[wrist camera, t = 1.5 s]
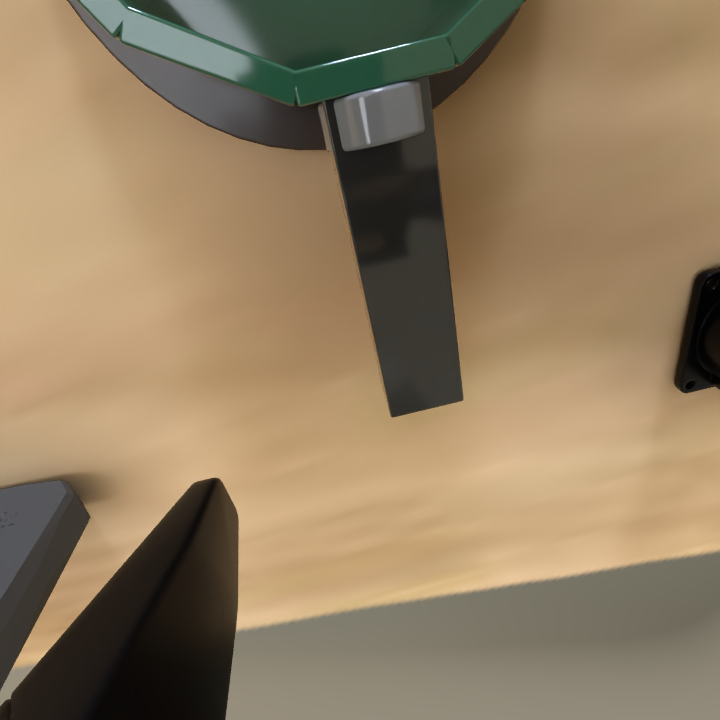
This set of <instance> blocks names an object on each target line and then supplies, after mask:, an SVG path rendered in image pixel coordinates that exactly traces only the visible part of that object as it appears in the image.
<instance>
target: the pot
mask: <svg viewBox="0 0 720 720" xmlns="http://www.w3.org/2000/svg"><path fill="white" fill-rule="evenodd" d="M76 1H77V2H78V3H79V4H80V5H81V6H82V7H83V8H84V9H85V10H86V11H87V12H88V13H89V14H90V15H91V16H92V17H93V18H94V19H95V20H96V21H97V22H98V23H99V24H100V25H101V26H102V27H103V28H104V29H105V31H106V32H107V33H108V34H109V35H110V36H111V37H113V38H115V39H118V40H120V42H121V43H122V44H123V45H126V46H129V47H131V48H134V49H137V50H139V51H142V52H145V53H147V54H150V55H153V56H156V57H158V58H161V59H164V60H166V61H169V62H172V63H174V64H177V65H180V66H182V67H185V68H188V69H190V70H193V71H196V72H199V73H201V74H204V75H207V76H210V77H212V78H215V79H218V80H220V81H223V82H226V83H229V84H231V85H234V86H237V87H240V88H242V89H245V90H248V91H250V92H253V93H256V94H259V95H261V96H264V97H267V98H270V99H272V100H275V101H278V102H280V103H283V104H286V105H289V106H291V107H294V108H297V106H299V107H300V108H305V107H309V106H313V105H317V104H318V108H317V109H318V114H319V118H320V122H321V127H322V131H323V136H324V140H325V145H326V149H327V150H328V152H331V157H332V161H333V166H334V170H335V175H336V179H337V184H338V189H339V193H340V198H341V202H342V207H343V211H344V216H345V220H346V225H347V229H348V234H349V238H350V243H351V247H352V252H353V256H354V261H355V265H356V270H357V274H358V279H359V283H360V288H361V293H362V297H363V302H364V306H365V311H366V315H367V320H368V324H369V329H370V333H371V338H372V342H373V347H374V351H375V356H376V360H377V365H378V369H379V374H380V378H381V383H382V388H383V391H384V395H385V398H386V402H387V405H388V408H389V412H390V415H391V417H397V416H401V415H405V414H409V413H414V412H418V411H422V410H426V409H430V408H434V407H439V406H443V405H447V404H451V403H455V402H459V401H463V390H462V380H461V371H460V362H459V352H458V343H457V334H456V325H455V315H454V306H453V297H452V287H451V278H450V269H449V260H448V250H447V241H446V232H445V222H444V213H443V204H442V195H441V185H440V176H439V167H438V157H437V148H436V139H435V130H434V120H433V111H432V102H431V92H430V83H429V76H432V75H435V74H439V73H443V72H446V71H450V70H453V69H454V68H455V67H457V66H460V65H462V64H463V63H464V62H465V61H466V60H467V59H468V58H469V57H470V56H471V55H472V54H473V53H474V52H475V51H476V50H477V49H478V48H479V47H480V46H481V45H482V44H483V43H484V42H485V41H486V40H487V39H488V38H489V37H490V36H491V35H492V34H493V33H494V32H495V31H496V30H497V29H498V28H499V27H500V26H501V25H502V24H503V23H504V22H505V21H506V20H507V19H508V18H509V17H510V16H511V15H512V14H513V13H514V12H515V11H516V10H517V9H518V8H519V7H520V6H521V5H522V4H523V3H524V2H525V1H526V0H76Z"/></svg>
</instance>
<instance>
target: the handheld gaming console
mask: <svg viewBox="0 0 720 720" xmlns="http://www.w3.org/2000/svg"><path fill="white" fill-rule="evenodd" d="M89 519H90V516H89V514H88V512H87V510H86V509H85V507H84V505H83V503H82V502H81V501H80V499H79V498H78V496H77V495H76V494H75V492H74V491H73V489H72V488H71V486H70V485H69V484H68V482H65V481H62V480H57V481H49V482H41V483H33V484H26V485H21V486H16V487H11V488H7V489H2V490H0V690H1V688H2V686H3V684H4V682H5V680H6V679H7V677H8V675H9V673H10V671H11V669H12V667H13V665H14V663H15V661H16V659H17V658H18V656H19V654H20V652H21V650H22V648H23V646H24V644H25V642H26V640H27V638H28V636H29V635H30V633H31V631H32V629H33V627H34V625H35V623H36V621H37V619H38V617H39V615H40V613H41V612H42V610H43V608H44V606H45V604H46V602H47V600H48V598H49V596H50V594H51V592H52V591H53V589H54V587H55V585H56V583H57V581H58V579H59V577H60V575H61V573H62V571H63V569H64V568H65V566H66V564H67V562H68V560H69V558H70V556H71V554H72V552H73V550H74V548H75V547H76V545H77V543H78V541H79V539H80V537H81V535H82V533H83V531H84V529H85V527H86V525H87V523H88V521H89Z"/></svg>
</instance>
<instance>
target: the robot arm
mask: <svg viewBox="0 0 720 720" xmlns="http://www.w3.org/2000/svg"><path fill="white" fill-rule="evenodd" d="M709 280H710V281H709ZM708 281H709V283H708V284H707V282H708ZM706 284H707V285H706ZM675 387H676V388H677V389H679V390H680V391H681V392H684V393H689V392H694V391H698V390H702V389H706V388H710V387H717V388H718V389H720V267H718V268H713V269H709V270H706V271H703V272H702V273H701V274H699V275H698V276H697V278H696V279H695V282H694V286H693V291H692V296H691V301H690V306H689V311H688V317H687V322H686V327H685V332H684V337H683V343H682V348H681V353H680V358H679V363H678V368H677V374H676V379H675ZM237 610H238V514H237V511H236V508H235V506H234V504H233V502H232V500H231V498H230V496H229V494H228V492H227V490H226V488H225V487H224V485H223V483H222V481H221V480H220V479H218V478H210V479H206V480H202V481H198V482H195V483H194V484H192V485H191V486H190V488H189V489H188V490H187V491H186V492H185V493H184V495H183V496H182V497H181V498H180V499H179V500H178V501H177V503H176V504H175V505H174V506H173V507H172V508H171V510H170V511H169V512H168V513H167V514H166V515H165V517H164V518H163V519H162V520H161V521H160V522H159V524H158V525H157V526H156V527H155V528H154V529H153V530H152V532H151V533H150V534H149V535H148V536H147V537H146V539H145V540H144V541H143V542H142V543H141V544H140V546H139V547H138V548H137V549H136V550H135V551H134V552H133V554H132V555H131V556H130V557H129V558H128V559H127V561H126V562H125V563H124V564H123V565H122V566H121V568H120V569H119V570H118V571H117V572H116V573H115V574H114V576H113V577H112V578H111V579H110V580H109V581H108V583H107V584H106V585H105V586H104V587H103V588H102V590H101V591H100V592H99V593H98V594H97V595H96V596H95V598H94V599H93V600H92V601H91V602H90V603H89V605H88V606H87V607H86V608H85V609H84V610H83V612H82V613H81V614H80V615H79V616H78V617H77V618H76V620H75V621H74V622H73V623H72V624H71V625H70V627H69V628H68V629H67V630H66V631H65V632H64V634H63V635H62V636H61V637H60V638H59V639H58V640H57V642H56V643H55V644H54V645H53V646H52V647H51V649H50V650H49V651H48V652H47V653H46V654H45V656H44V657H43V658H42V659H41V660H40V661H39V662H38V664H37V665H36V666H35V667H34V668H33V669H32V671H31V672H30V673H29V674H28V675H27V676H26V678H25V679H24V680H23V681H22V682H21V683H20V684H19V686H18V687H17V688H16V689H15V690H14V692H13V693H12V695H11V699H8V700H6V701H5V702H4V703H3V704H2V705H1V706H0V720H225V717H226V709H227V700H228V692H229V683H230V674H231V666H232V657H233V648H234V639H235V631H236V621H237Z"/></svg>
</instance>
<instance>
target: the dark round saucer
mask: <svg viewBox="0 0 720 720" xmlns="http://www.w3.org/2000/svg"><path fill="white" fill-rule="evenodd" d="M67 1H68V2H69V3H70V5H71V6H72V7H73V9H74V10H75V11H76V13H77V14H78V16H79V17H80V18H81V20H82V21H83V22H84V24H85V25H86V26H87V27H88V28H89V29H90V30H91V32H92V33H93V34H94V35H95V36H96V37H97V38H98V39H99V40H100V42H101V43H102V44H103V45H104V46H105V47H106V48H107V49H108V50H109V52H110V53H111V54H112V55H113V56H114V57H115V58H116V59H117V60H118V61H119V62H120V63H121V64H122V65H124V66H125V67H126V68H127V69H128V70H129V71H130V72H131V73H132V74H134V75H135V76H136V77H137V78H138V79H139V80H140V81H141V82H142V83H143V84H145V85H146V86H147V87H148V88H150V89H151V90H152V91H154V92H155V93H157V94H158V95H159V96H161V97H162V98H163V99H165V100H166V101H168V102H169V103H170V104H172V105H173V106H174V107H176V108H177V109H179V110H181V111H183V112H184V113H186V114H188V115H190V116H191V117H193V118H195V119H197V120H199V121H200V122H202V123H204V124H206V125H207V126H210V127H212V128H215V129H217V130H219V131H222V132H224V133H227V134H229V135H232V136H234V137H236V138H239V139H243V140H247V141H250V142H254V143H258V144H262V145H265V146H269V147H278V148H286V149H294V150H327V149H326V145H325V140H324V136H323V131H322V127H321V122H320V118H319V114H318V109H317V108H318V104H317V105H313V106H309V107H305V108H300V107H299V106H297V108H294V107H291V106H289V105H286V104H283V103H280V102H278V101H275V100H272V99H270V98H267V97H264V96H261V95H259V94H256V93H253V92H250V91H248V90H245V89H242V88H240V87H237V86H234V85H231V84H229V83H226V82H223V81H220V80H218V79H215V78H212V77H210V76H207V75H204V74H201V73H199V72H196V71H193V70H190V69H188V68H185V67H182V66H180V65H177V64H174V63H172V62H169V61H166V60H164V59H161V58H158V57H156V56H153V55H150V54H147V53H145V52H142V51H139V50H137V49H134V48H131V47H129V46H126V45H123V44H122V43H121V42H120V40H118V39H115V38H113V37H111V36H110V35H109V34H108V33H107V32H106V31H105V29H104V28H103V27H102V26H101V25H100V24H99V23H98V22H97V21H96V20H95V19H94V18H93V17H92V16H91V15H90V14H89V13H88V12H87V11H86V10H85V9H84V8H83V7H82V6H81V5H80V4H79V3H78V2H77V1H76V0H67ZM521 6H522V5H521ZM521 6H520V7H521ZM520 7H519V8H518V9H517V10H516V11H515V12H514V13H513V14H512V15H511V16H510V17H509V18H508V19H507V20H506V21H505V22H504V23H503V24H502V25H501V26H500V27H499V28H498V29H497V30H496V31H495V32H494V33H493V34H492V35H491V36H490V37H489V38H488V39H487V40H486V41H485V42H484V43H483V44H482V45H481V46H480V47H479V48H478V49H477V50H476V51H475V52H474V53H473V54H472V55H471V56H470V57H469V58H468V59H467V60H466V61H465V62H464V63H463V64H462V65H460V66H457V67H455V68H454V69H453V70H450V71H446V72H443V73H439V74H435V75H432V76H429V83H430V92H431V102H432V109H434V108H435V107H437V106H438V105H439V104H441V103H442V102H443V101H444V100H445V99H446V98H448V97H449V96H450V95H451V94H452V93H453V92H454V91H456V90H457V89H458V88H459V87H460V86H461V85H463V84H464V83H465V81H466V80H467V79H468V78H469V77H470V76H471V75H472V74H473V73H474V72H475V70H476V69H477V68H478V67H479V66H480V65H481V64H482V63H483V62H484V61H485V59H486V58H487V57H488V56H489V54H490V53H491V52H492V50H493V49H494V47H495V46H496V45H497V43H498V42H499V41H500V39H501V38H502V36H503V35H504V34H505V32H506V31H507V29H508V28H509V27H510V25H511V23H512V21H513V20H514V18H515V16H516V14H517V13H518V11H519V9H520Z"/></svg>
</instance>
